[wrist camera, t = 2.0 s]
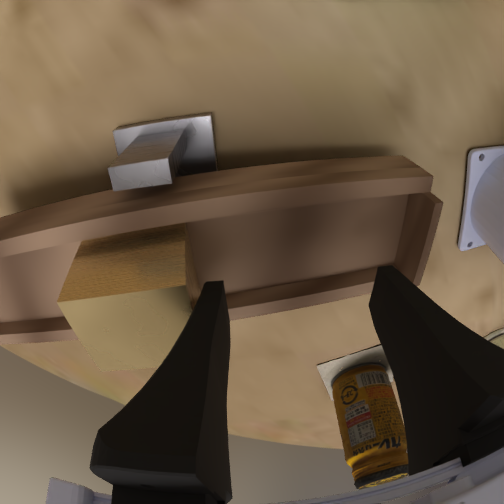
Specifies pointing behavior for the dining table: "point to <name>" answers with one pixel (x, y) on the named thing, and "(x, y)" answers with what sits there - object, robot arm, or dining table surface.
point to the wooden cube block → (131, 295)
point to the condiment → (367, 416)
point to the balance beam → (235, 236)
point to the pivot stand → (163, 151)
